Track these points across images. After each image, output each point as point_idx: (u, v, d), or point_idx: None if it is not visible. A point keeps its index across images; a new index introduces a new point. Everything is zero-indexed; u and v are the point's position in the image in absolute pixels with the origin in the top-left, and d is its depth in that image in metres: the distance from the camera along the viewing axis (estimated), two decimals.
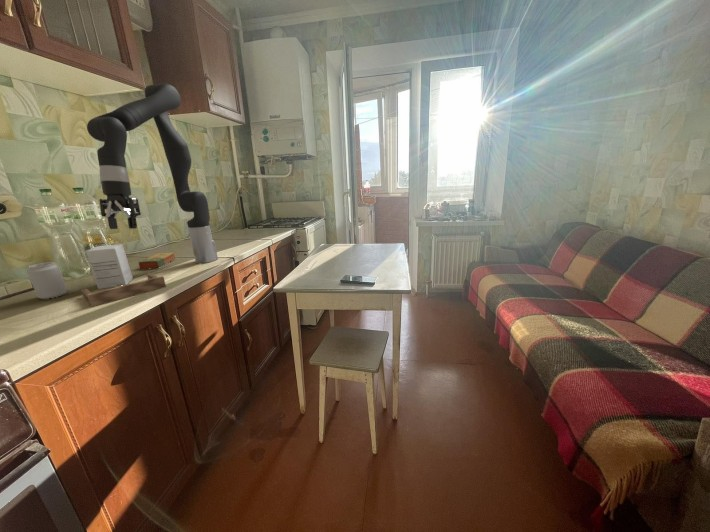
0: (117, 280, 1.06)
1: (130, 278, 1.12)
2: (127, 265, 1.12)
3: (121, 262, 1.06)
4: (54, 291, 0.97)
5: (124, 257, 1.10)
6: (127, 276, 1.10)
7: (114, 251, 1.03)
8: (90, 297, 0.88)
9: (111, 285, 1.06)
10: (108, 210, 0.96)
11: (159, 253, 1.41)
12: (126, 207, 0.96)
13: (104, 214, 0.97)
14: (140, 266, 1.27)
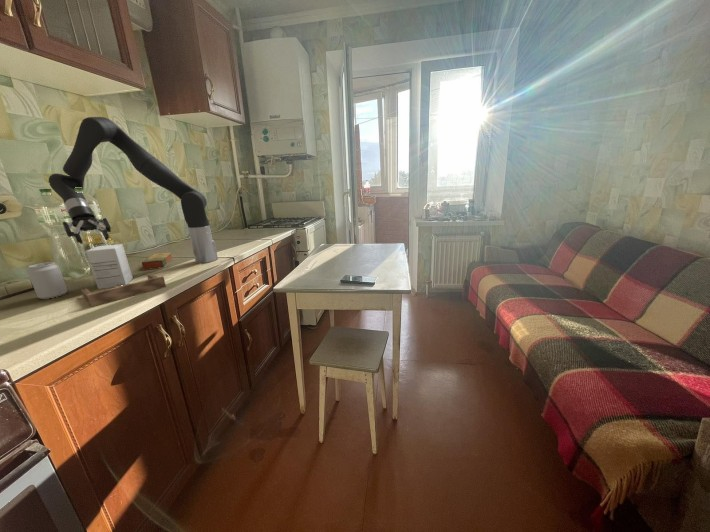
0: (117, 280, 1.06)
1: (130, 278, 1.12)
2: (127, 265, 1.12)
3: (121, 262, 1.06)
4: (54, 291, 0.97)
5: (124, 257, 1.10)
6: (127, 276, 1.10)
7: (114, 251, 1.03)
8: (90, 297, 0.88)
9: (111, 285, 1.06)
10: None
11: (155, 254, 1.40)
12: None
13: None
14: (143, 266, 1.26)
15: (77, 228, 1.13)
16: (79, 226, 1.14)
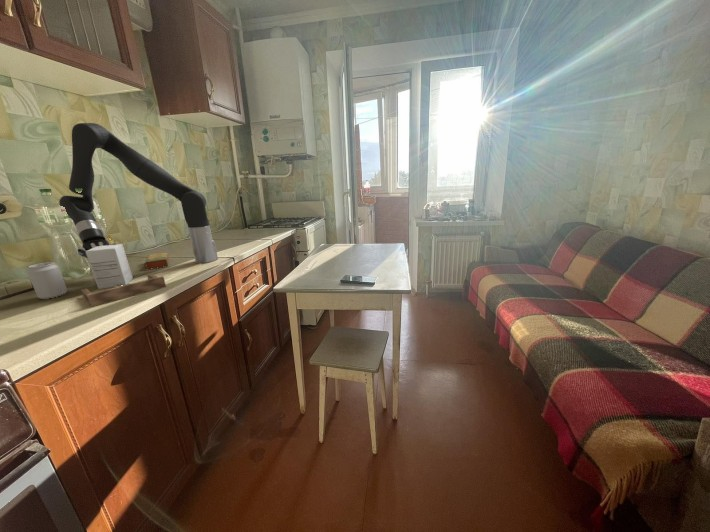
0: (117, 280, 1.06)
1: (130, 278, 1.12)
2: (127, 265, 1.12)
3: (121, 262, 1.06)
4: (54, 291, 0.97)
5: (124, 257, 1.10)
6: (127, 276, 1.10)
7: (114, 251, 1.03)
8: (90, 297, 0.88)
9: (111, 285, 1.06)
10: None
11: None
12: None
13: None
14: (147, 265, 1.27)
15: None
16: None
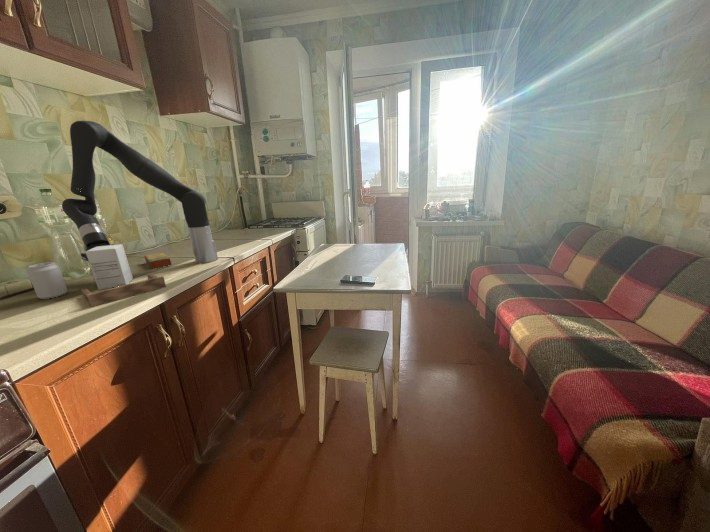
0: (117, 280, 1.05)
1: (130, 278, 1.12)
2: (127, 265, 1.11)
3: (121, 263, 1.06)
4: (54, 291, 0.97)
5: (124, 257, 1.09)
6: (128, 276, 1.09)
7: (114, 251, 1.03)
8: (90, 297, 0.88)
9: (111, 285, 1.05)
10: None
11: (148, 255, 1.38)
12: None
13: None
14: (151, 265, 1.27)
15: None
16: None
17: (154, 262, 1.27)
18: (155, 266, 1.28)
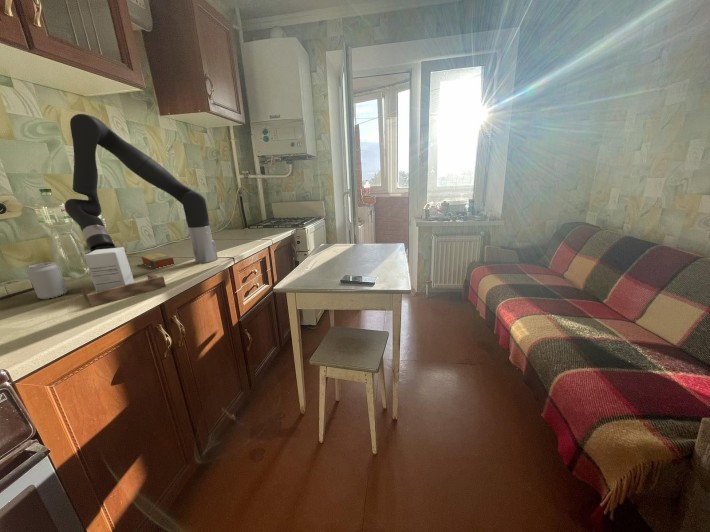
0: (117, 286, 0.99)
1: None
2: (128, 270, 1.05)
3: (122, 267, 1.00)
4: (54, 291, 0.97)
5: (125, 261, 1.03)
6: (129, 281, 1.03)
7: (114, 255, 0.97)
8: (90, 297, 0.88)
9: None
10: None
11: (145, 256, 1.37)
12: None
13: None
14: (155, 265, 1.27)
15: None
16: None
17: (158, 261, 1.28)
18: (159, 265, 1.29)
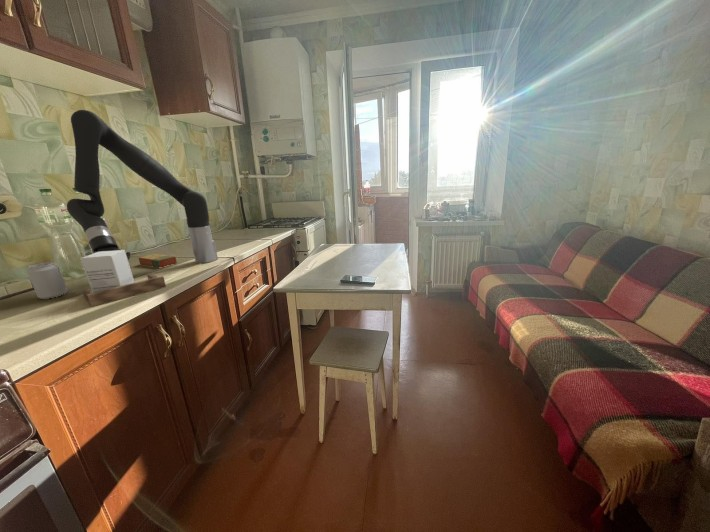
0: None
1: None
2: (129, 273, 1.00)
3: (119, 271, 0.95)
4: (54, 291, 0.97)
5: (125, 265, 0.99)
6: None
7: (110, 259, 0.92)
8: (90, 297, 0.88)
9: None
10: None
11: None
12: None
13: None
14: (160, 264, 1.28)
15: None
16: None
17: (162, 261, 1.29)
18: (163, 265, 1.30)
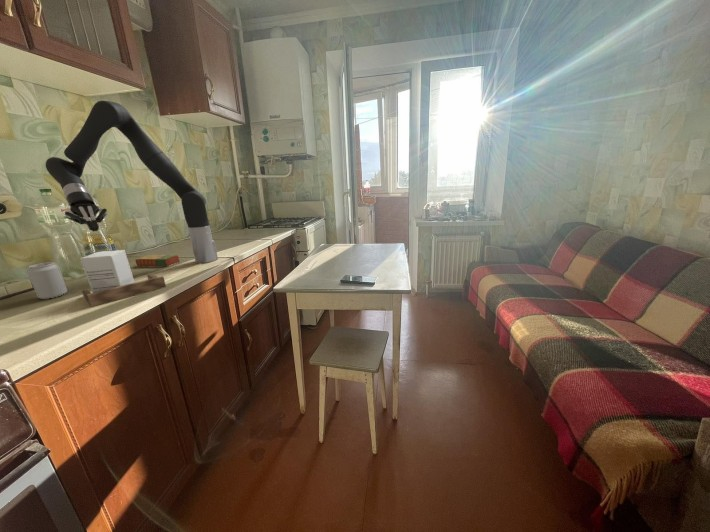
0: None
1: None
2: (129, 273, 1.00)
3: (119, 271, 0.95)
4: (54, 291, 0.97)
5: (125, 265, 0.99)
6: None
7: (110, 259, 0.92)
8: (90, 297, 0.88)
9: None
10: None
11: (139, 258, 1.33)
12: None
13: None
14: (167, 262, 1.30)
15: (85, 215, 1.08)
16: (84, 212, 1.08)
17: (168, 259, 1.31)
18: (169, 263, 1.32)
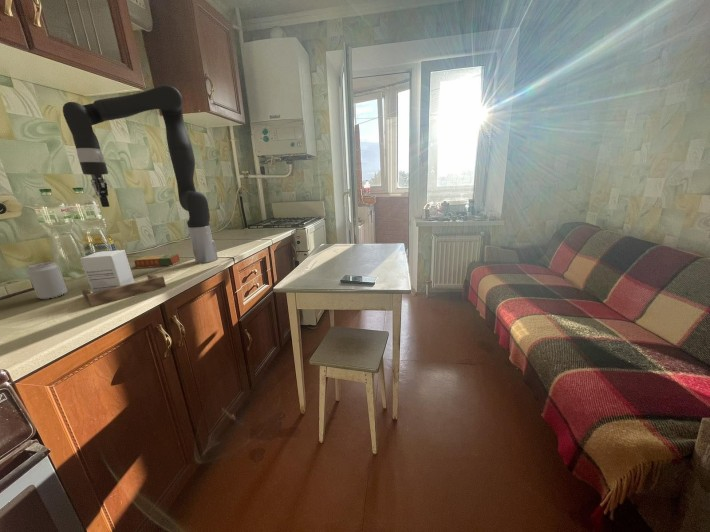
0: None
1: None
2: (129, 273, 1.00)
3: (119, 271, 0.95)
4: (54, 291, 0.97)
5: (125, 265, 0.99)
6: None
7: (110, 259, 0.92)
8: (90, 297, 0.88)
9: None
10: (94, 189, 1.11)
11: (137, 259, 1.31)
12: None
13: None
14: (172, 261, 1.32)
15: None
16: None
17: (172, 258, 1.33)
18: (173, 262, 1.34)
